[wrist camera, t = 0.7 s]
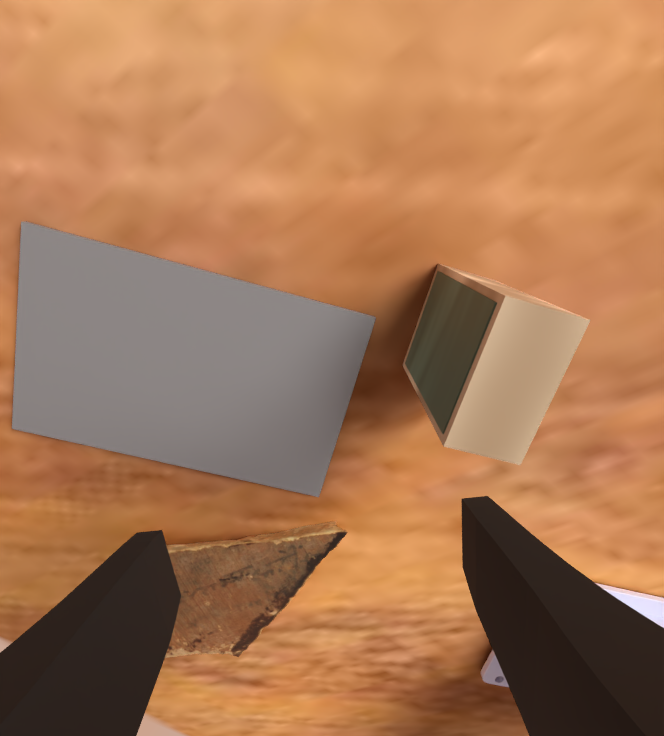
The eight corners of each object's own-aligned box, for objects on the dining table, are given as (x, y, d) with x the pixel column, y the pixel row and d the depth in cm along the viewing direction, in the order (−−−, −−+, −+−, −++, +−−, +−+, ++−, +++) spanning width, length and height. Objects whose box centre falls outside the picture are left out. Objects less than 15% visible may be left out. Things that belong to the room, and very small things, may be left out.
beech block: (493, 279, 18) (590, 320, 12) (453, 378, 20) (520, 465, 13) (436, 262, 18) (503, 294, 11) (401, 364, 19) (441, 446, 13)
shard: (345, 511, 22) (347, 536, 21) (359, 623, 25) (362, 653, 23) (134, 534, 23) (118, 560, 21) (169, 642, 25) (158, 674, 24)
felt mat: (375, 316, 19) (375, 318, 18) (318, 493, 21) (318, 497, 21) (26, 221, 17) (21, 221, 17) (16, 425, 20) (12, 428, 20)
